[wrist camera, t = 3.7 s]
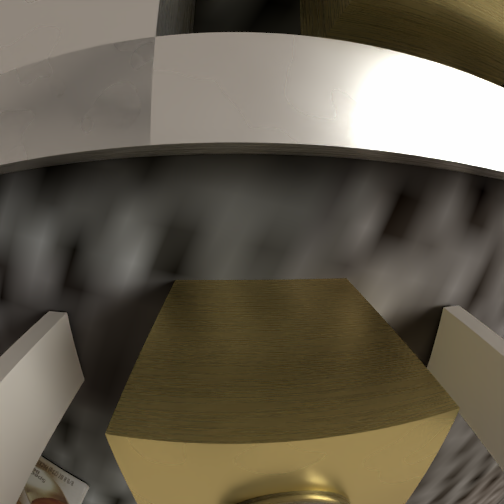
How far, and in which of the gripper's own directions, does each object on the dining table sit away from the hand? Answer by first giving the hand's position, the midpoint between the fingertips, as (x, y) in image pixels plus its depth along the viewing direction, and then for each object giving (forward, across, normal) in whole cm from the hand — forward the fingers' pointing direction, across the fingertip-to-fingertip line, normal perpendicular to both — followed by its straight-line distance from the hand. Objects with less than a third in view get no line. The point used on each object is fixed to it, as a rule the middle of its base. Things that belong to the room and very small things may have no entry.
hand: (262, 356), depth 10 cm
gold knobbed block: (0, 0, 0) cm, 0 cm away
